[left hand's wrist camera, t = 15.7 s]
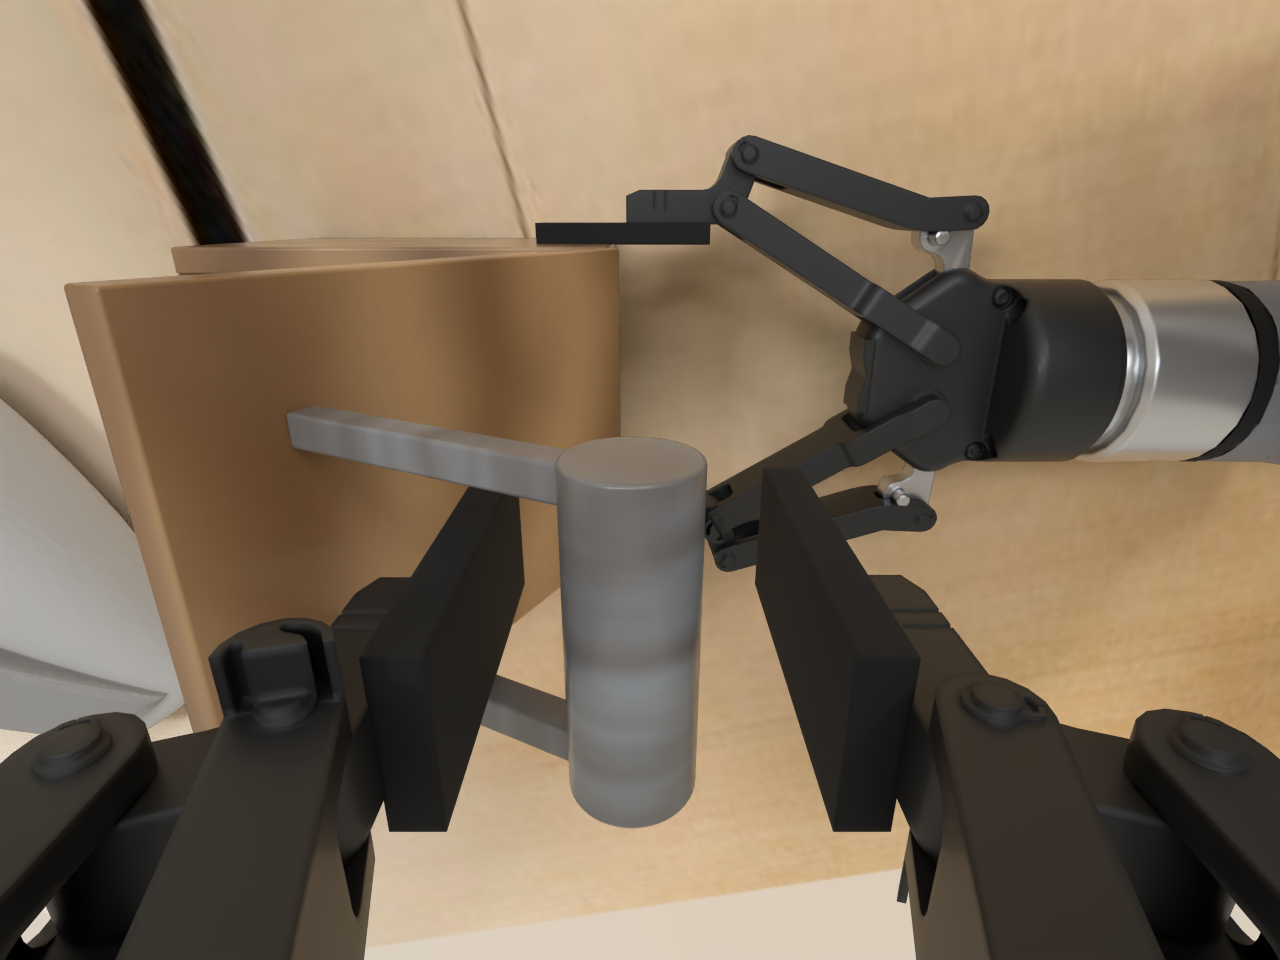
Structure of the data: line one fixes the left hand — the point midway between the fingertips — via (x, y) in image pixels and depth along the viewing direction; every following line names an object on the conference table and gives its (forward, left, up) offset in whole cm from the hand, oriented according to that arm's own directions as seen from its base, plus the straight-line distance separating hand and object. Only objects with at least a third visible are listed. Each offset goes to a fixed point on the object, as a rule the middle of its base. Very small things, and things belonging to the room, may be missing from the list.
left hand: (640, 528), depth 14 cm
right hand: (-4, -1, -15) cm, 16 cm away
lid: (-5, -2, -4) cm, 6 cm away
